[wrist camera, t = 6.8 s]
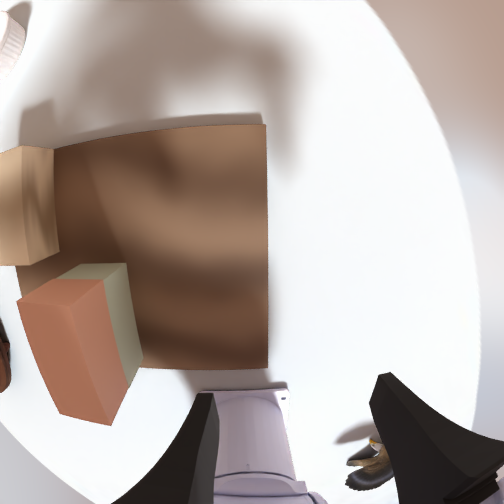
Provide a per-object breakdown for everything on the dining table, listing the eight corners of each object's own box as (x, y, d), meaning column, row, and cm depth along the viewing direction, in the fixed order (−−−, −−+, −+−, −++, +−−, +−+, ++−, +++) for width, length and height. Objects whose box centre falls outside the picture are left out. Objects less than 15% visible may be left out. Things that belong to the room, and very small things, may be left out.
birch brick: (59, 251, 18) (29, 265, 14) (26, 253, 18) (-3, 265, 14) (53, 149, 16) (22, 145, 12) (20, 158, 16) (-11, 157, 12)
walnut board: (266, 361, 22) (267, 368, 21) (44, 348, 21) (39, 353, 20) (264, 127, 18) (265, 124, 17) (13, 163, 17) (6, 163, 16)
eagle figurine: (385, 420, 24) (330, 474, 24) (429, 454, 19) (370, 508, 18) (392, 416, 29) (347, 462, 29) (428, 444, 24) (381, 490, 24)
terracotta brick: (128, 387, 17) (111, 425, 13) (82, 380, 16) (59, 413, 13) (103, 279, 15) (69, 305, 11) (53, 278, 15) (16, 301, 11)
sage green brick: (143, 358, 21) (129, 388, 17) (101, 354, 20) (82, 381, 16) (126, 262, 19) (102, 280, 15) (81, 263, 19) (52, 280, 15)
